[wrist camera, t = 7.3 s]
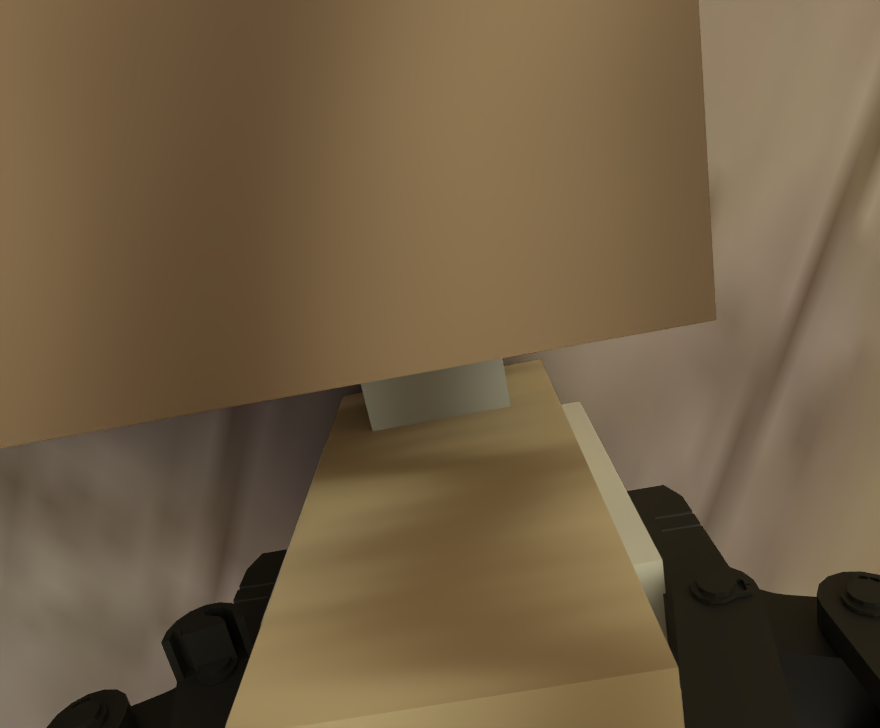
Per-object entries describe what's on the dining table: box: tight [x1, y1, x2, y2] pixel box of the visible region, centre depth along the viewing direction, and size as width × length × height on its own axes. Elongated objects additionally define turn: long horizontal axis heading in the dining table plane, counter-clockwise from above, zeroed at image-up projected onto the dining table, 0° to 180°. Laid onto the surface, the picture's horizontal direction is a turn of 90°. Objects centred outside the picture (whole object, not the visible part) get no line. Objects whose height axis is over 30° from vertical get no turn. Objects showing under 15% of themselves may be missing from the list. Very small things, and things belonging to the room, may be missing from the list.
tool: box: [225, 358, 684, 728], centre depth 10 cm, size 5×22×10 cm, turn 11°
